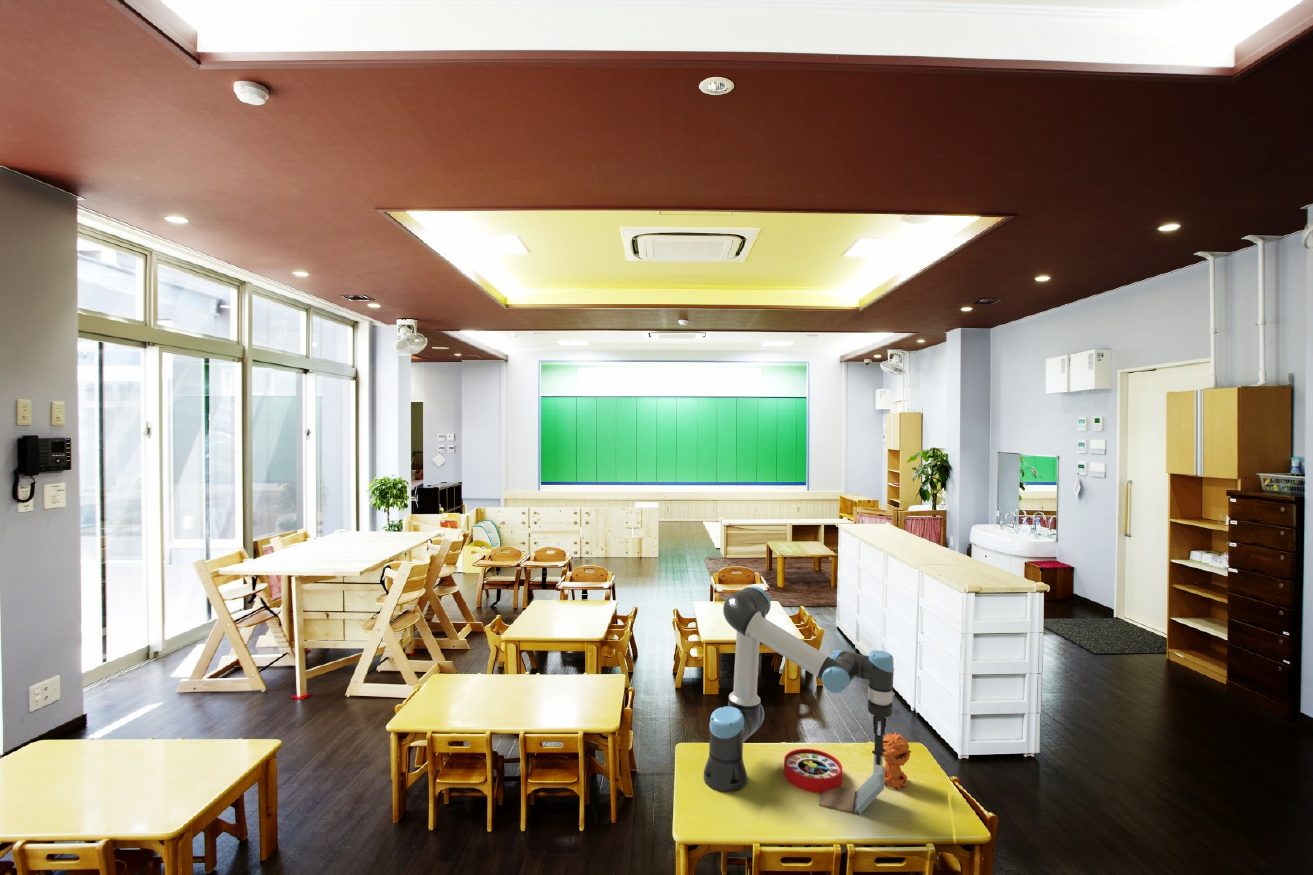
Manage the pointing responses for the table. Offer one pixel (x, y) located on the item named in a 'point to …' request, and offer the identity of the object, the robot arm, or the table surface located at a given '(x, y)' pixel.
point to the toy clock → (812, 770)
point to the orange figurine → (895, 759)
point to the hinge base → (839, 799)
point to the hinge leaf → (869, 790)
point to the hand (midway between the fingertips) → (877, 772)
